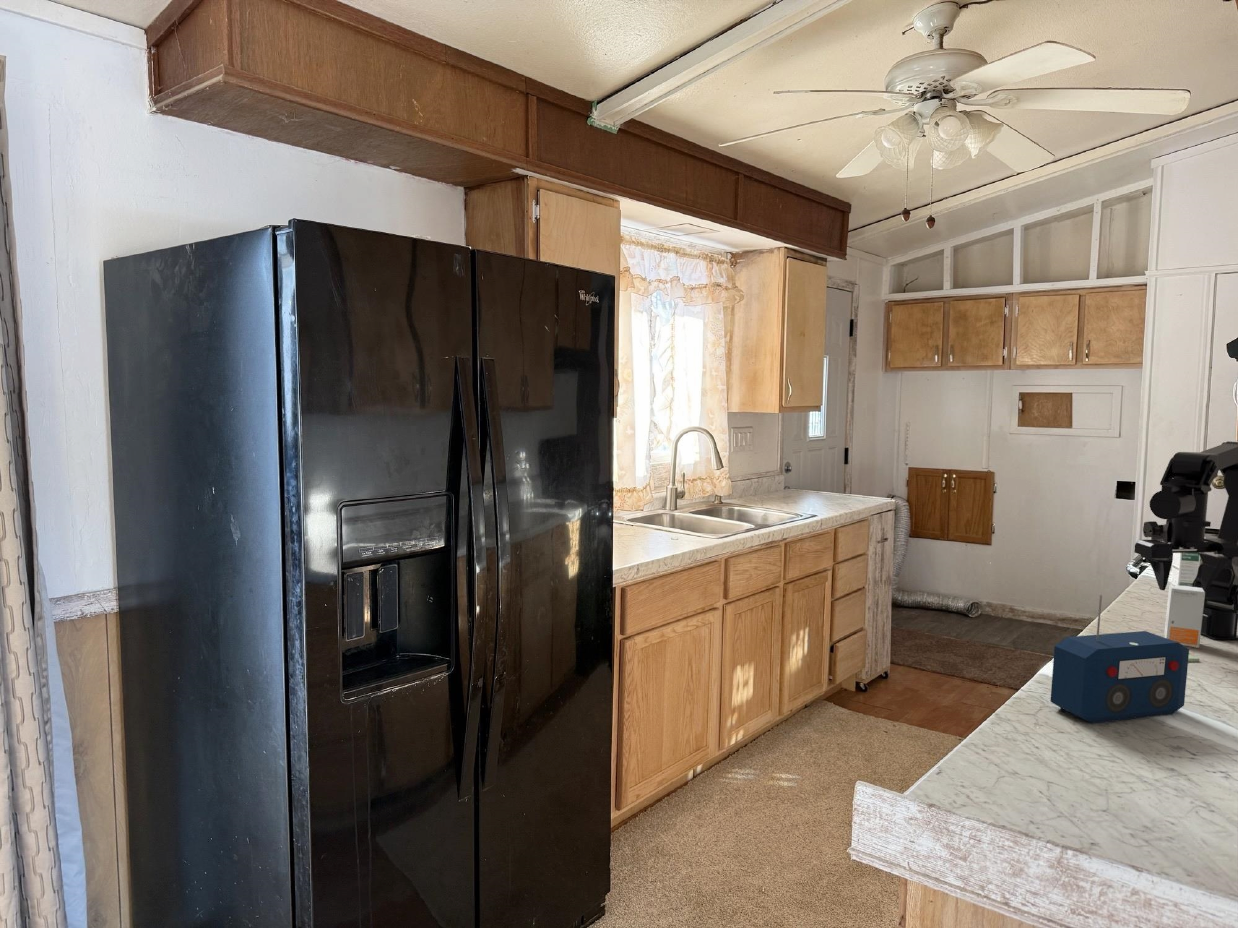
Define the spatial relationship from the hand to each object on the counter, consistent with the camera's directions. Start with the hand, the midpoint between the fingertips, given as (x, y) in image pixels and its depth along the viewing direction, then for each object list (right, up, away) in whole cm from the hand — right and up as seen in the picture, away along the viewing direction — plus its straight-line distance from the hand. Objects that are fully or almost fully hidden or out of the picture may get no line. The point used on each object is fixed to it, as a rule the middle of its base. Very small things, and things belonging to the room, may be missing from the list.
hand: (1183, 589), depth 175 cm
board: (-6, -12, 0) cm, 14 cm away
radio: (-33, -16, -33) cm, 50 cm away
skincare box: (+3, -12, +5) cm, 13 cm away
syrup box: (+37, -8, +55) cm, 67 cm away
